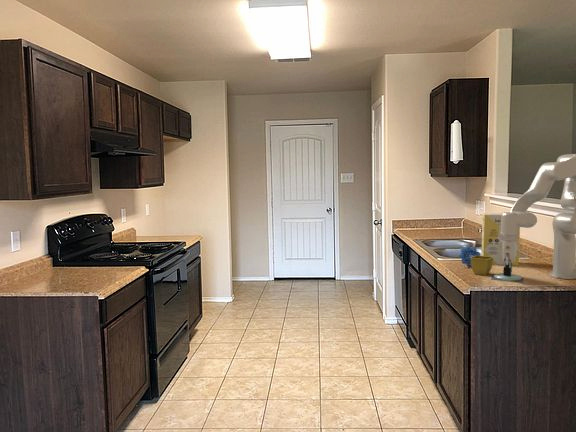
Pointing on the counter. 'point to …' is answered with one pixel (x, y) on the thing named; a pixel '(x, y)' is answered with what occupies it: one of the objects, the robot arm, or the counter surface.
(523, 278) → the mat
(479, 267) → the flower pot
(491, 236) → the pasta box
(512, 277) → the lid
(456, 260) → the counter surface
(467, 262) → the grapes
